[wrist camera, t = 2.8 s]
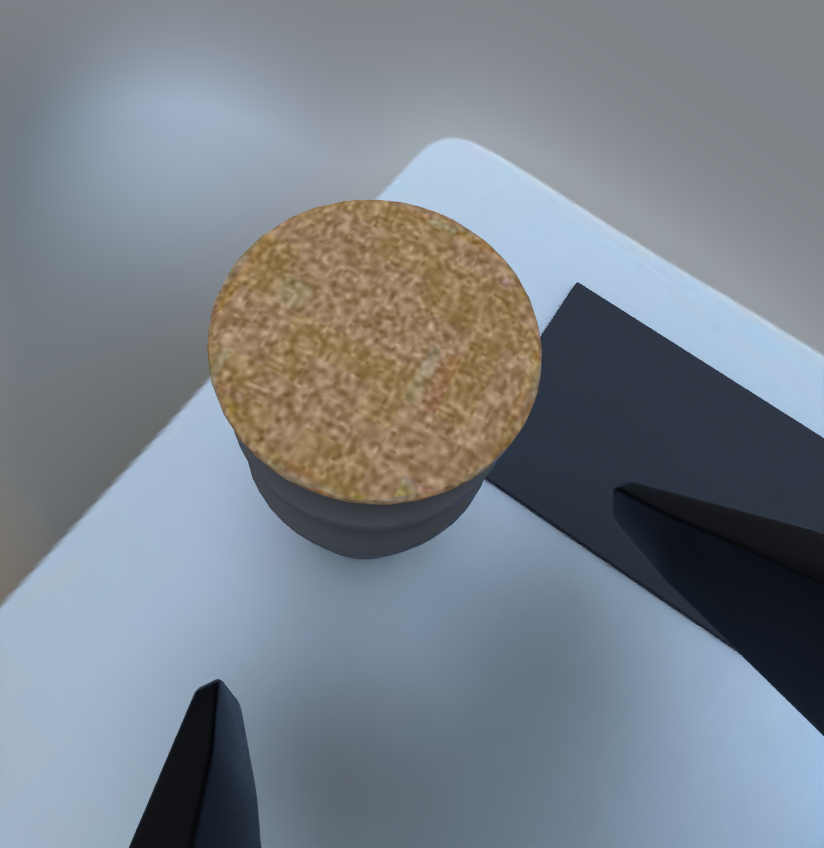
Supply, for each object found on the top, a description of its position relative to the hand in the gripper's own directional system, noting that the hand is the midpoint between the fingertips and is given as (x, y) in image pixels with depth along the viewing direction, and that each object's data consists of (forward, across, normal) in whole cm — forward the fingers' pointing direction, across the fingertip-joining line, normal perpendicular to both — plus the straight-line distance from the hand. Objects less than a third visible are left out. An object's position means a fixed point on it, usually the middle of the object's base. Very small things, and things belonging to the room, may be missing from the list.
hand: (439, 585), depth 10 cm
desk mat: (+6, -15, +9) cm, 19 cm away
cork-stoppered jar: (+10, 0, +5) cm, 12 cm away
